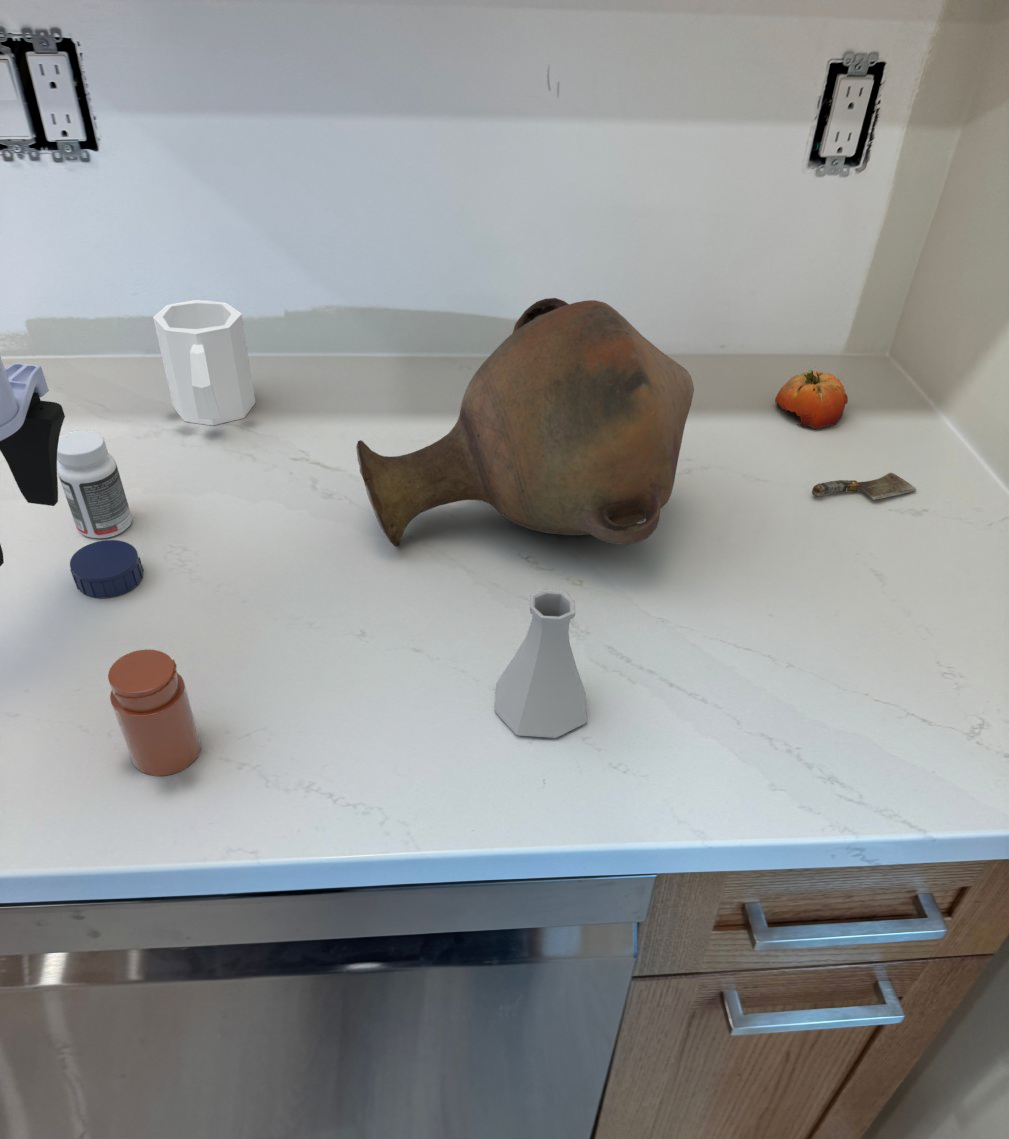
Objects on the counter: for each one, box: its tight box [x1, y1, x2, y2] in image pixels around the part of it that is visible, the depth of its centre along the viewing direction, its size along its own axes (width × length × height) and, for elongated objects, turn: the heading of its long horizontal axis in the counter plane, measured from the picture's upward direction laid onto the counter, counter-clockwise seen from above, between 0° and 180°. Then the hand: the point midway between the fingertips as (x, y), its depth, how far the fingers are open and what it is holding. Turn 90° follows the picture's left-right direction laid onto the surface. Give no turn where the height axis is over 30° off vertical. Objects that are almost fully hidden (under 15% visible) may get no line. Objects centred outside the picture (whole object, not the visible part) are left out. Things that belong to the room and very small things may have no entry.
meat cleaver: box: [811, 472, 917, 500], centre depth 91 cm, size 12×1×5 cm
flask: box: [494, 588, 588, 739], centre depth 64 cm, size 7×7×10 cm
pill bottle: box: [57, 429, 133, 539], centre depth 77 cm, size 5×5×8 cm
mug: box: [152, 299, 256, 426], centre depth 92 cm, size 12×9×10 cm
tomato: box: [774, 367, 849, 430], centre depth 102 cm, size 8×7×7 cm
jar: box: [107, 649, 202, 777], centre depth 59 cm, size 5×5×8 cm
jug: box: [355, 297, 695, 547], centre depth 78 cm, size 20×20×30 cm
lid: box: [69, 539, 144, 599], centre depth 74 cm, size 5×5×2 cm
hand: (16, 531), depth 64 cm, fingers open, 7 cm apart
